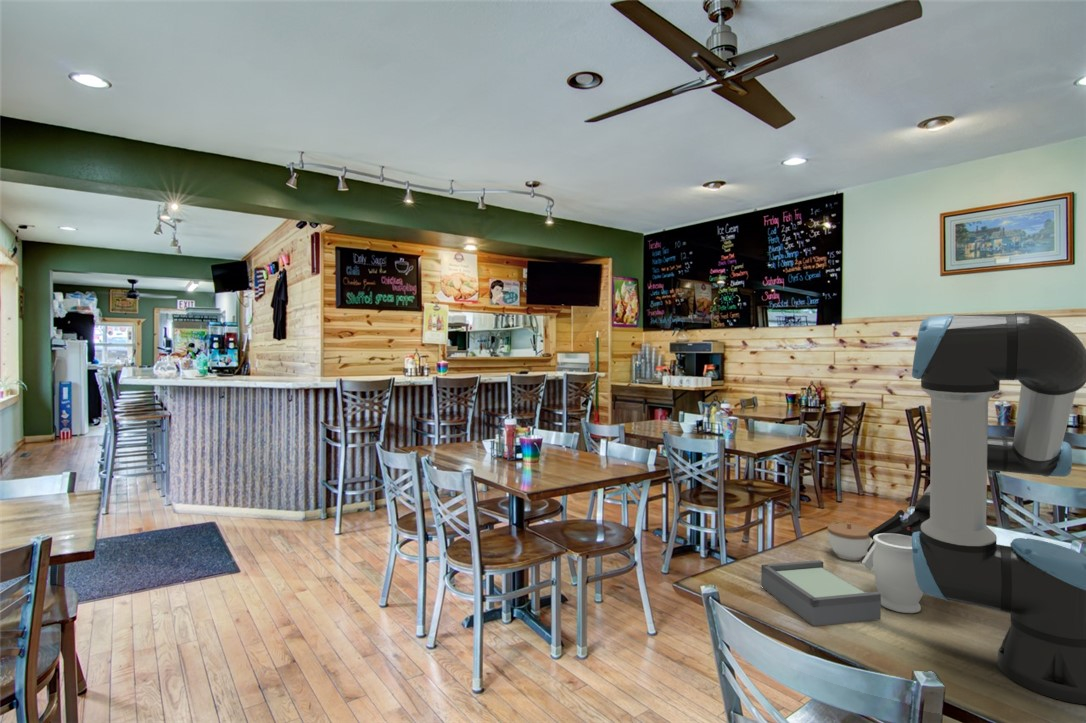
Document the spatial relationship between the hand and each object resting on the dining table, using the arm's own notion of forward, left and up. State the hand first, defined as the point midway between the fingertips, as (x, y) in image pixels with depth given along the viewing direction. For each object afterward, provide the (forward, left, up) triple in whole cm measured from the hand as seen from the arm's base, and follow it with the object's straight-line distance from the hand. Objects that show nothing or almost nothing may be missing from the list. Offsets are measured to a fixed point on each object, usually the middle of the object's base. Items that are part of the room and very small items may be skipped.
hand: (892, 577), depth 129 cm
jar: (0, -2, -7) cm, 7 cm away
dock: (+5, +15, -7) cm, 17 cm away
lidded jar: (+29, -12, -7) cm, 32 cm away
